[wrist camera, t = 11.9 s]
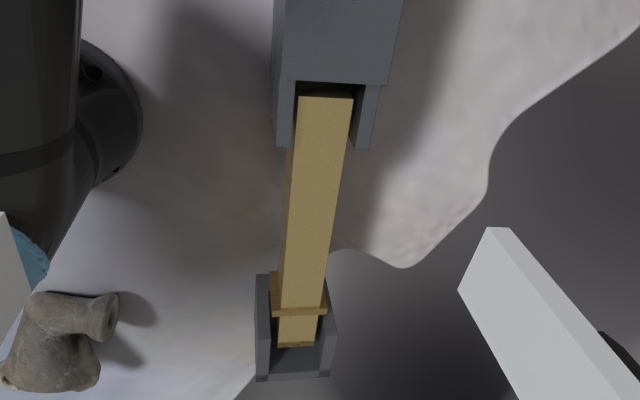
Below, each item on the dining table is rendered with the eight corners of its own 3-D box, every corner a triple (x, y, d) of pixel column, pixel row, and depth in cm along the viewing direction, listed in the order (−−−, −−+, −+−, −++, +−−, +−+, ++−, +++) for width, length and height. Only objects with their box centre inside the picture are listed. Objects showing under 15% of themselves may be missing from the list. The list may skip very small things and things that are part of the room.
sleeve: (269, 100, 42) (276, 153, 32) (281, -173, 30) (298, -214, 21) (344, 104, 43) (371, 156, 34) (382, -154, 32) (441, -185, 22)
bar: (267, 308, 55) (269, 349, 50) (281, 71, 37) (287, 96, 32) (314, 306, 56) (321, 346, 51) (349, 75, 38) (365, 100, 33)
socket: (254, 316, 60) (255, 382, 51) (255, 274, 55) (257, 339, 47) (317, 313, 62) (329, 376, 53) (324, 272, 57) (338, 335, 49)
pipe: (54, 269, 60) (44, 369, 60) (-14, 279, 51) (-26, 395, 52) (139, 292, 54) (127, 402, 54) (77, 307, 45) (63, 438, 46)
